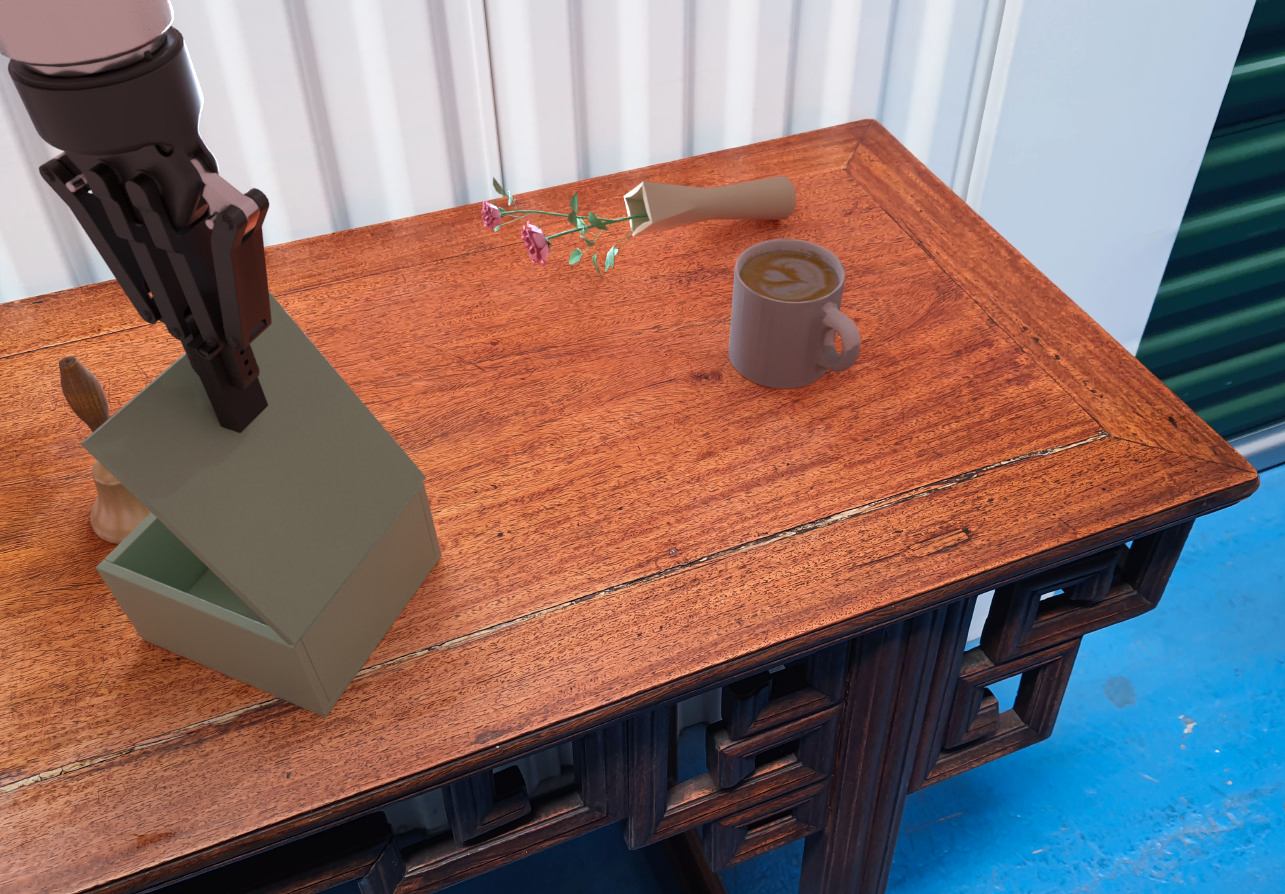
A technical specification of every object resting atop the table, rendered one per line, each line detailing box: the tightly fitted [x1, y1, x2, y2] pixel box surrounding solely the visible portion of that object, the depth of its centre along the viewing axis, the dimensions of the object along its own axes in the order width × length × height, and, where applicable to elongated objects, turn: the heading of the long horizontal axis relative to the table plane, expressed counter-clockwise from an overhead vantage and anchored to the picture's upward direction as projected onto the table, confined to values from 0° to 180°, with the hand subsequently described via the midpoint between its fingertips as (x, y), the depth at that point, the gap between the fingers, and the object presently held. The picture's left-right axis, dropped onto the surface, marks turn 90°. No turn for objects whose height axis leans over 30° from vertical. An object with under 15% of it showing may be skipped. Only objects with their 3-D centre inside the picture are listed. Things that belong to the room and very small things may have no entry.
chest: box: [95, 481, 442, 718], centre depth 74 cm, size 17×16×9 cm
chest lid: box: [80, 291, 427, 645], centre depth 64 cm, size 17×16×1 cm
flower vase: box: [480, 175, 797, 279], centre depth 106 cm, size 12×12×35 cm
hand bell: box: [58, 355, 151, 545], centre depth 78 cm, size 8×8×16 cm
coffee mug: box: [728, 238, 861, 390], centre depth 92 cm, size 13×10×10 cm
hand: (244, 415), depth 62 cm, fingers closed
